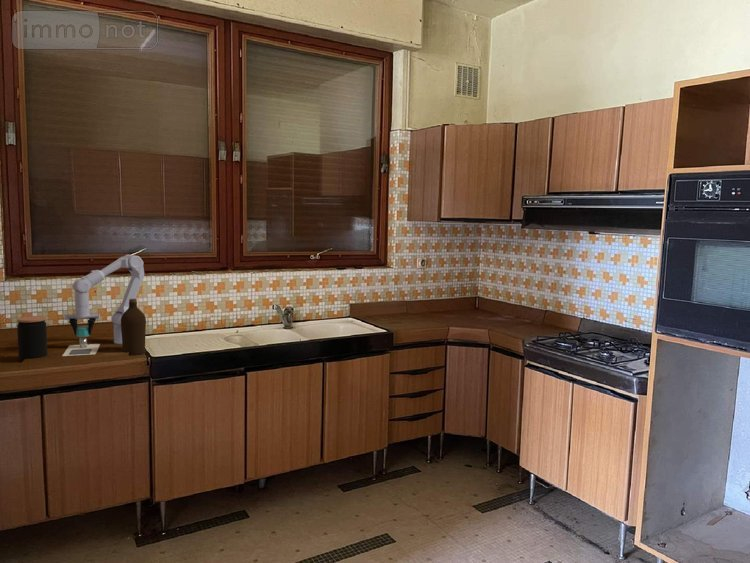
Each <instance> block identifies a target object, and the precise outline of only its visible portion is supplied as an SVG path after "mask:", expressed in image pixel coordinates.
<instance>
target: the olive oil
mask: <svg viewBox="0 0 750 563" xmlns="http://www.w3.org/2000/svg"><path fill="white" fill-rule="evenodd" d="M137 301H138V299H137V298H136V299H129V308H128V309H127V310H126V311H125V312H124V313H123V315H122V317H121V333H122V344H121V346H122V352H124V353H128V356H139V355H143V354H145V353H146V332H147V331H146V330H147V329H146V328H147V318H146V315H145V314H144V312H143V311H141V309H139V308H138V302H137Z"/></svg>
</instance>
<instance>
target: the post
mask: <svg viewBox="0 0 750 563" xmlns="http://www.w3.org/2000/svg"><path fill="white" fill-rule="evenodd" d="M87 344H88V338H86V337H79V345H80V348H86V347H87Z"/></svg>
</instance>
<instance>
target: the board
mask: <svg viewBox="0 0 750 563" xmlns="http://www.w3.org/2000/svg"><path fill="white" fill-rule="evenodd" d="M100 345H101V343H92V344H91V343H90V344H88V343H87V347H86V348H80V344H71V345H70V344H69V345H68V347H67V348H66V350H65V351H64V353H63V354H62V357H67V356H70V357H71V356H73V357H75V356H87V355H88V356H89V355H91V356H92V355H96V354H97V352H98V350H99V348H100ZM78 349H92V350H91V352H90V354H76V355H69V353H70V352H71V350H78Z"/></svg>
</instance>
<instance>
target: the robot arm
mask: <svg viewBox="0 0 750 563" xmlns="http://www.w3.org/2000/svg"><path fill="white" fill-rule="evenodd" d="M120 269H127V270H128V271H129V273H130V274H131V277H130V280H129V283H128V285H127V288H126V290H125V293H124V296H123V298H122V300H121V304H120V306H119V307H117V309H116V310H115V312H114V313H113V314H112V316H111V322H112V324H113V343H114V344H117V345H122V333H121V317H122V315H123V313H124V312H125V311H126V310H127V309H128V308H129V299H137V297H138V293H139V292H140V288H141V285H142V283H143V280H144V278H145V269H144V261H143V259H142V258H141V256H138V255H133V254H125V255H123V256H120V257H119V258H118V259H116V260H115V261H113V262H111V263H110V264H109V265H107V266H105V267H104V268H102V269H100V270H99V269H95V270H94V269H93V270H91V271H90V273H88V274H87V275H85V276H81V278H78V279H76V280H74V282H73V283H72V289H73V290H74V307H75V308H74V311H75V312H74V313H75V314H65V315H64V317H63V318H64V321H65V320H67V321H68V323H69V324H70V325H71V328H72V330H73V332H74V336H76V330H77V327H78V320H87V326H89V336H91V335H92V334H93V333H92V332H93V328H94V325H95V323H96V320H100V319H101V313H100V314H99V313H98V314H97V313H96V314H95V313H90V295H89V292H90V290H91V288H92V287H94V286H96V285H98V284H99V283H101V282H102V281H104V280H105V277H106V276H108V275H111V273H114V272H115V271H117V270H120Z"/></svg>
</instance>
